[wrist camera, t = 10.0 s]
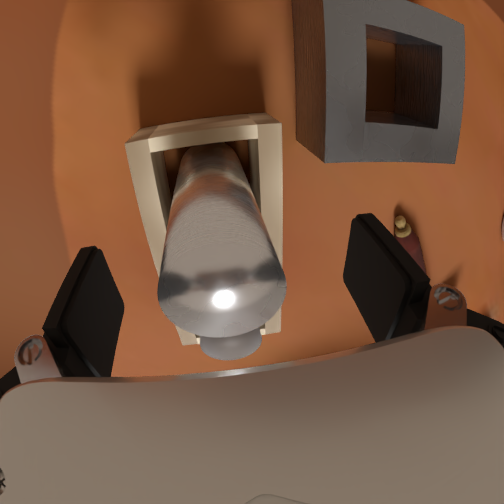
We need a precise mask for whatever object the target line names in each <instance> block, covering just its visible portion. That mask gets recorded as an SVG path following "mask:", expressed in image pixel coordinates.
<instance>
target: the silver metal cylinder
mask: <svg viewBox="0 0 504 504" xmlns="http://www.w3.org/2000/svg"><path fill="white" fill-rule="evenodd" d="M286 288H287V286H286V278H285V275H284V272H283V269H282V267H281V264H280V262H279V259H278V256H277V254H276V251H275V249H274V246H273V243H272V241H271V238H270V236H269V233H268V231H267V228H266V226H265V223H264V220H263V218H262V215H261V213H260V210H259V208H258V205H257V203H256V200H255V198H254V195H253V193H252V190H251V188H250V185H249V183H248V180H247V178H246V175H245V173H244V170H243V168H242V166H241V163H240V161H239V158H238V156H237V154H236V152H235V151H234V150H233V149H232V148H231V147H230V146H229V145H227V144H225V143H223V142H218V143H209V144H202V145H194V146H191V147H190V148H189V149H188V150H187V151H186V152H185V154H184V155H183V157H182V160H181V163H180V167H179V172H178V176H177V181H176V185H175V190H174V195H173V200H172V205H171V210H170V215H169V220H168V226H167V231H166V237H165V243H164V249H163V255H162V262H161V268H160V275H159V282H158V292H157V293H158V301H159V304H160V307H161V309H162V311H163V312H164V314H165V315H166V316H167V318H168V319H169V320H170V321H171V322H173V323H174V324H175V325H176V326H178V327H180V328H181V329H183V330H185V331H187V332H190V333H193V334H196V335H200V336H205V337H215V338H216V337H231V336H237V335H240V334H244V333H247V332H249V331H252V330H254V329H256V328H258V327H260V326H261V325H263V324H264V323H266V322H267V321H268V320H270V319H271V318H272V317H273V316H274V315H275V314H276V312H277V311H278V310H279V308H280V307H281V305H282V303H283V301H284V298H285V295H286Z"/></svg>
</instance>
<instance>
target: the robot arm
mask: <svg viewBox="0 0 504 504" xmlns="http://www.w3.org/2000/svg"><path fill="white" fill-rule="evenodd" d="M502 238H503V241H504V218H503V223H502ZM343 279H344V283H345V285H346V287H347V288H348V290H349V292H350V294H351V296H352V298H353V299H354V301H355V303H356V305H357V307H358V309H359V311H360V313H361V315H362V316H363V318H364V320H365V322H366V324H367V326H368V328H369V330H370V332H371V334H372V336H373V338H374V340H375V342H376V343H373V344H369V345H365V346H361V347H357V348H353V349H348V350H344V351H340V352H335V353H330V354H326V355H321V356H316V357H311V358H305V359H300V360H294V361H289V362H283V363H277V364H271V365H264V366H257V367H250V368H242V369H234V370H226V371H217V372H206V373H195V374H182V375H167V376H144V377H111V372H112V366H113V361H114V356H115V350H116V345H117V341H118V336H119V331H120V327H121V322H122V318H123V314H124V302H123V300H122V298H121V295H120V293H119V291H118V289H117V286H116V284H115V282H114V279H113V277H112V275H111V272H110V270H109V267H108V265H107V262H106V260H105V257H104V255H103V252H102V250H101V249H98V248H97V247H96V246H90V247H84V248H81V249H80V251H79V253H78V254H77V256H76V258H75V260H74V262H73V264H72V266H71V267H70V269H69V272H68V273H67V275H66V277H65V279H64V281H63V283H62V285H61V287H60V289H59V291H58V294H57V296H56V298H55V300H54V302H53V304H52V307H51V309H50V311H49V313H48V316H47V318H46V320H45V323H44V325H43V327H42V329H43V330H44V335H43V337H42V336H40V335H32V336H29V337H27V338H26V339H24V340H23V341H22V342H21V343H20V345H19V346H18V347H17V350H16V352H15V357H14V359H15V365H16V366H15V367H14V368H13V369H12V370H11V371H9V372H8V373H7V374H6V375H4V377H2V378H1V379H0V504H504V324H502V323H501V322H499V321H496V320H494V319H492V318H489V317H487V316H484V315H482V314H479V313H477V312H474V311H472V310H470V309H467V303H466V299H465V297H464V295H463V294H462V293H461V292H460V291H459V290H458V289H456V288H455V287H453V286H451V285H448V284H437V285H434V286H433V287H431V286H430V284H429V282H430V278H429V277H428V276H427V275H426V274H425V272H424V271H423V270H422V269H421V267H420V266H419V265H418V264H417V263H416V261H415V260H414V259H413V258H412V257H411V256H410V254H409V253H408V252H407V251H406V250H405V249H404V247H403V246H402V245H401V244H400V243H399V242H398V241H397V240H396V238H395V237H394V236H393V235H392V234H391V233H390V232H389V231H388V230H387V229H386V227H385V226H384V225H383V224H382V223H381V222H380V221H379V220H378V219H377V218H376V217H375V216H374V215H373V214H372V213H367V214H358V215H357V216H356V218H354V219H353V220H352V223H351V230H350V237H349V243H348V249H347V255H346V261H345V267H344V272H343Z"/></svg>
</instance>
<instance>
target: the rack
mask: <svg viewBox="0 0 504 504" xmlns="http://www.w3.org/2000/svg"><path fill="white" fill-rule="evenodd" d="M247 139H248V152H249V169H250V186H251V190H252V193H253V195H254V198H255V200H256V203H257V205H258V208H259V210H260V213H261V215H262V218H263V220H264V223H265V226H266V228H267V231H268V233H269V236H270V238H271V241H272V243H273V246H274V249H275V251H276V254H277V256H278V259H279V262H280V264H281V267H282V239H283V178H282V123H281V122H279V121H278V120H276V119H275V118H273V117H272V116H270V115H269V114H267V113H253V114H240V115H229V116H219V117H211V118H202V119H195V120H188V121H181V122H175V123H169V124H163V125H158V126H152V127H147V128H142V129H139V130H138V131H137V132H136V133H135V134H134V135H133V136H132V137H131V138H130V139H129V140H128V141H127V142H126V143H125V148H126V153H127V158H128V163H129V167H130V172H131V176H132V181H133V185H134V189H135V194H136V198H137V202H138V206H139V210H140V214H141V218H142V221H143V225H144V229H145V232H146V236H147V240H148V243H149V247H150V250H151V253H152V257H153V260H154V263H155V267H156V270H157V273H158V276H159V275H160V268H161V262H162V255H163V249H164V243H165V237H166V231H167V226H168V220H169V215H170V210H171V205H172V199H171V193H170V188H169V183H168V177H167V172H166V166H165V160H164V154H163V150H168V149H174V148H181V147H187V146H194V145H202V144H209V143H218V142H226V141H236V140H247ZM175 326H176V325H175ZM176 328H177V331H178V334H179V337H180V339H181V342H182V344H183V345H190V344H199V343H200V346H201V349H202V350H203V352H204V353H205V354H207V355H208V356H210V357H212V358H215V359H219V360H235V359H240V358H243V357H246V356H248V355H250V354H252V353H253V352H255V351H256V350H257V349H258V348H259V346H260V344H261V341H262V337H261V335H264V334H270V333H276V332H281V307H280V308H279V310H278V311H277V312H276V314H275V315H274V316H273V317H272V318H271V319H270V320H268V321H267V322H266V323H264V324H263V325H261V326H260V327H258V328H256V329H254V330H252V331H249V332H247V333H244V334H240V335H237V336H231V337H216V338H215V337H205V336H200V335H196V334H193V333H190V332H187V331H185V330H183V329H181V328H180V327H178V326H176Z"/></svg>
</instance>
